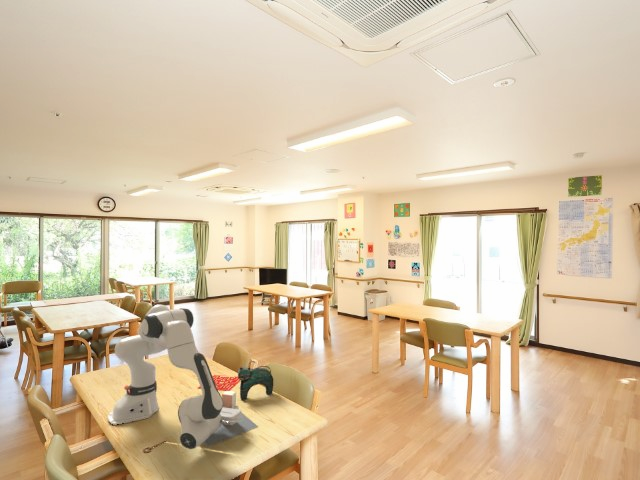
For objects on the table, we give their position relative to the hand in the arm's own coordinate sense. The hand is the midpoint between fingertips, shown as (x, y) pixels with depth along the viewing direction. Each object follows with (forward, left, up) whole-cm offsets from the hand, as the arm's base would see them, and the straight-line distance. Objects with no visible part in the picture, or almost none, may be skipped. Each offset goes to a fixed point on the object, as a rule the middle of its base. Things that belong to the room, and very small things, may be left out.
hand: (228, 405), depth 159 cm
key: (-28, +5, -10) cm, 30 cm away
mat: (-2, -2, -9) cm, 9 cm away
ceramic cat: (+25, +18, -9) cm, 32 cm away
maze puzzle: (+18, +48, -10) cm, 52 cm away
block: (+1, 0, -8) cm, 8 cm away
